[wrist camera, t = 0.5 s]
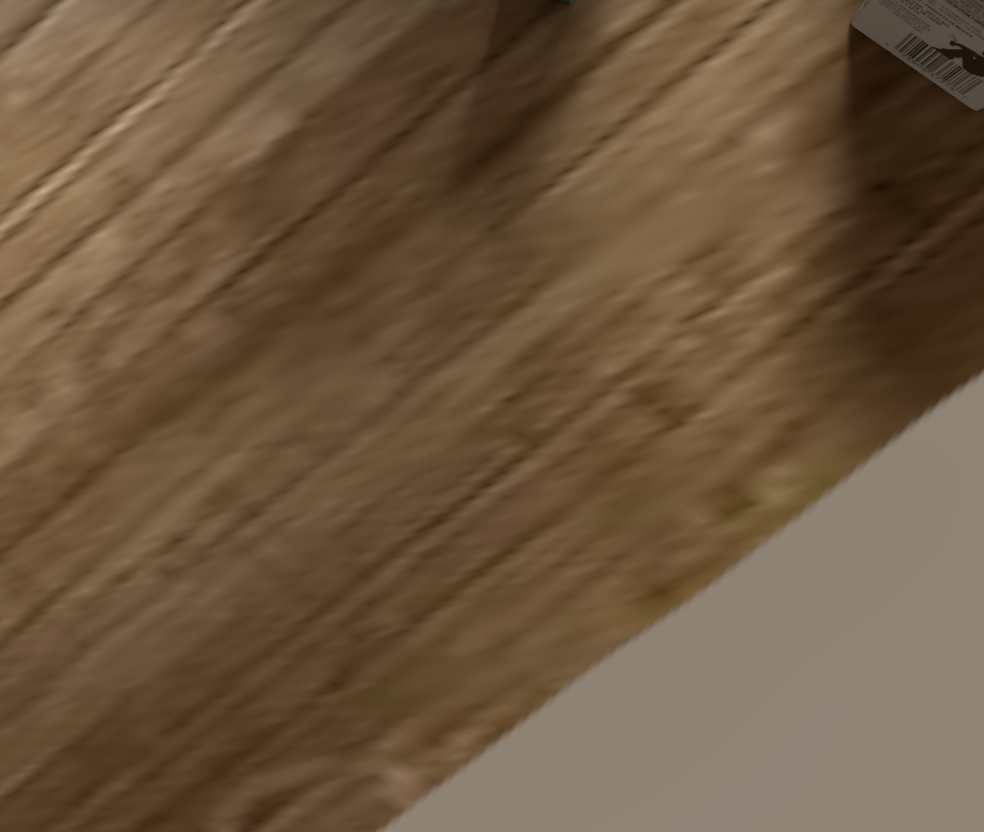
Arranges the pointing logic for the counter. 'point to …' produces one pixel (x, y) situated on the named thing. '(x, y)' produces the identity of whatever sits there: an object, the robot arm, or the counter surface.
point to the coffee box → (932, 40)
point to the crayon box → (566, 1)
